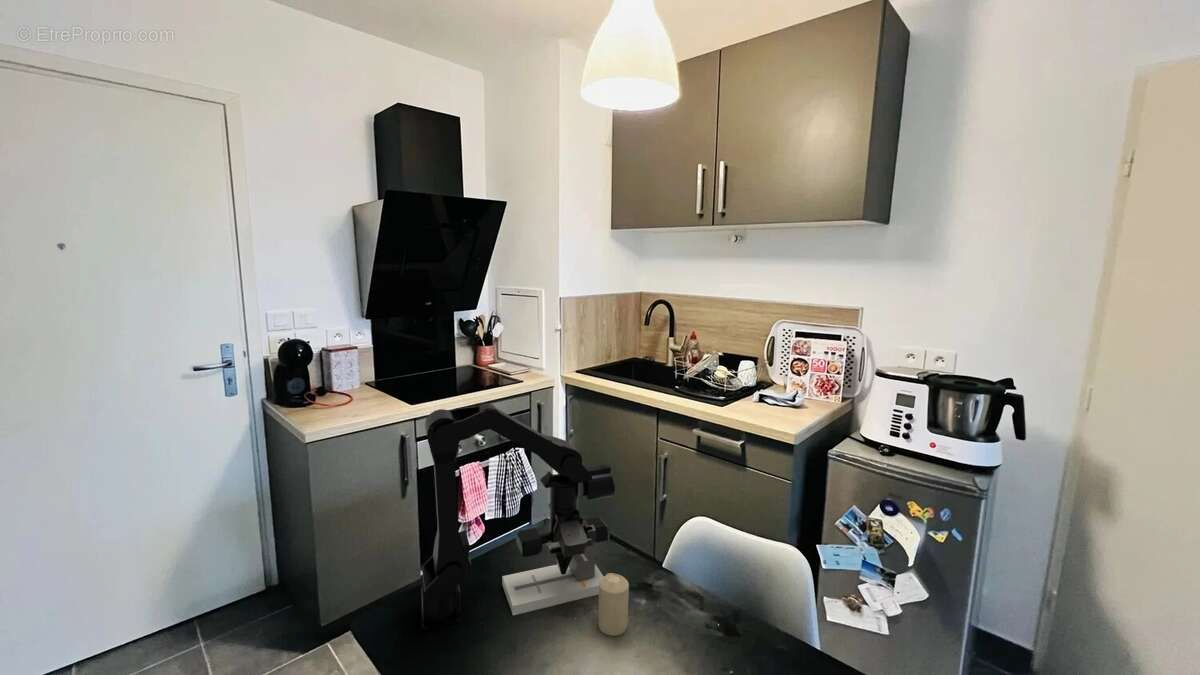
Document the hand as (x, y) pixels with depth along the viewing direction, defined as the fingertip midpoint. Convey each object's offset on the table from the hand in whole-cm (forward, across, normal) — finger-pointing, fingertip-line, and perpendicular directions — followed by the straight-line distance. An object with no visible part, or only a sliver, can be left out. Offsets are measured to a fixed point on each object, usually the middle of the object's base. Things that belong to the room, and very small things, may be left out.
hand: (562, 573), depth 103 cm
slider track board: (+3, -2, 0) cm, 3 cm away
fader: (+1, +4, 0) cm, 4 cm away
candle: (+3, +5, -14) cm, 16 cm away
